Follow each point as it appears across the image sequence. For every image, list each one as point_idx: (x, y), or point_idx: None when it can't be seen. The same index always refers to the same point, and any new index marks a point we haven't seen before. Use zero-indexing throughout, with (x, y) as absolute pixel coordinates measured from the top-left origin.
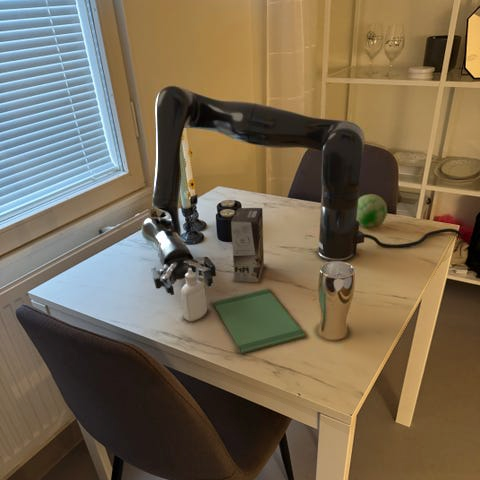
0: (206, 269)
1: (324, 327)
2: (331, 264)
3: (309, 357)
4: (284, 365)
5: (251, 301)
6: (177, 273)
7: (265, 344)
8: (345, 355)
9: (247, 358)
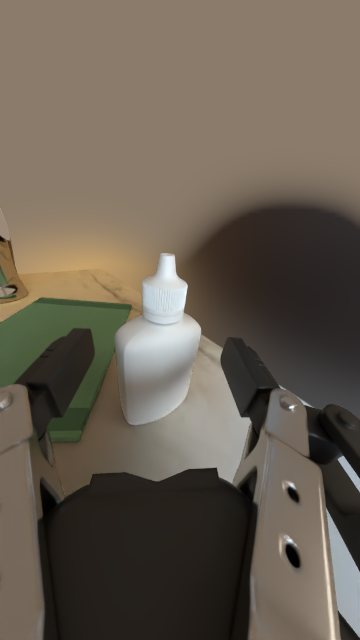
0: (5, 393)
1: (19, 280)
2: None
3: (75, 288)
4: (105, 290)
5: None
6: (215, 474)
7: (99, 302)
8: (44, 281)
9: (130, 303)
